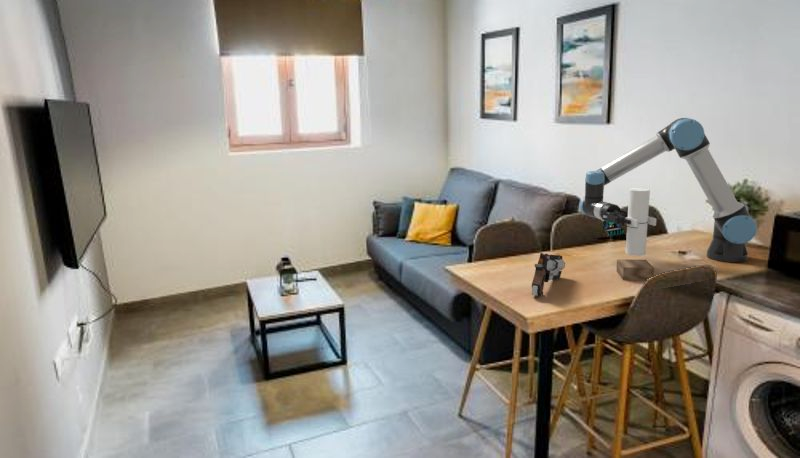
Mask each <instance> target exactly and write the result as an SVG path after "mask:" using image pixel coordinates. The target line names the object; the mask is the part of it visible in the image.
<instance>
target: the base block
mask: <svg viewBox="0 0 800 458" xmlns="http://www.w3.org/2000/svg"><path fill="white" fill-rule="evenodd" d="M615 272H617V274H618V275H619V277H620V278H621V279H622V280H623V281H648V280H647V279H649V278H651V277H653V276H654V274H655V267H654V266H653V265H652V264H651V263H650V262H649V261H648V260H647V259H627V258H626V259H625V258H624V259H618V258H617V259H616V271H615Z"/></svg>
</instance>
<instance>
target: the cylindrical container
mask: <svg viewBox="0 0 800 458" xmlns="http://www.w3.org/2000/svg"><path fill="white" fill-rule="evenodd" d="M650 193H651V190H650V189H649V188H644V187H631V188H629V191H628V204H627V211H628V217H629V218H632V219H636V220H639V226H638V228H636V227H633V226H630V225H626V234H625V235H626V236H625V237H626V240H625V250H624V251H625V252H624V253H625V254H627V255H629V256H634V257H636V256H637V257H641V256H645V255H646V254H647V253H646V251H647V250H646V249H647V238H648V237H647V236H648V225H649V224H648V215H649V208H650Z"/></svg>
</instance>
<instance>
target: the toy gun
mask: <svg viewBox="0 0 800 458" xmlns="http://www.w3.org/2000/svg"><path fill="white" fill-rule="evenodd" d="M534 267H535V270H534V276H533V279H532V282H531V290H532V291H531V295H532V296H537V297H539V296H544V287H545V283H548V282H549V281H550V280H551V281H552V280H560V279H561V276H562V272H563V270H564V269H565V268H566V262H565V260H563V255H560V254H548V253H542V252H540V253H539V258H538V262H537V263H534Z"/></svg>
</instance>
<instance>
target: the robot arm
mask: <svg viewBox="0 0 800 458" xmlns="http://www.w3.org/2000/svg"><path fill="white" fill-rule="evenodd" d="M710 144H711V143H710V140H709V139H708V137H707V136H706V134H705V129H704V127H703V125H702V123H700V122H699V121H697V120H696V119H693V118H689V117H681V118H678V119H675V120H673V121H672V122H671V123H670V124H668V125H667V126H665V127H664V128H662V129H661V130H659V131H658V132H656V135H655V136H653V137H652V138H650V139H648V140H646V141H645V142H643V143H642V144H640V145H637V147H635V148H633V149H631V150H630V151H628V152H626V153H624V154H623V155H621V156H619V157H617V158H615V159H614V160H612V161H611V162H608V163H607V164H606V165H604V166H601V168H599V169H597V170H590V171H587V172H586V174H585V184H584V186H585V189H584V198H583V199H582V200H581V201H580V203H579V211H580V212H581V213H582V214H583V215H586V216H587V217H591V218H595V219H599V220H601V222H602V221H607V222H611V223H616V224H619V223H620V226H621V227H624V226H627V225H630V226H633V227H636V228H638V226H639V220H636V219H632V218H629V217H628V210H624V209H621V208H620V206H619V205H618V204H614V203H610V202H607V201H604V192H605V190H604V189H605V186H607V185H608V184H610V183H612V181H615V180H617V179H618V178H620V177H622V176H624V175H625V174H627V173H629V172H631V171H633V170H635V169H637V168H638V167H640V166H641V165H643V164H645V163H647V162H648V161H651V160H653V159H655V158H656V157H658V156H659V155H661V154H663V153H665V152H668V153H670V152H671V151H674V150H675V152H676V153H677V155H678V157H679V159H684V160H685V161H686V162H687V164H688V166H689V168H690V170H691V171H692V173H693V175H694V177H695V178H696V180H697V182H698V183H699V186H700V187H701V189H702V191H703V193H704V195H705V196H706V198H707V200H708V202H709V204H710V206H711V207H712V209H713V210H714V213H713V214H712V218H713V220H714V222H713V223H714V224H713V234H712V240H711V242H710V244H709V245H708V248H707V251H706V257H707V258H709V259H710V260H714V261H718V262H723V263H724V262H727V263H743V262H747V261H748V260H749V252H748V249H747V245H746V243H748V242H750V241H751V240H752V239H753V238H754V237H755V236H756V234H757V232H758V226H757V223H756V221H755V219H753V217H752V216H751V215H750V213H749V207H748V205H746V204H744V203H743V202H741V201H740V202H739V201H737V199H736V197H735V195H734V193H733V191H732V190H731V188H730V186H729V183H728V182H727V180H726V178H725V177H724V175H723V174H722V172H721V170H720V168H719V165H718V164H717V163H716V160H715V159H714V157H713V154H711V152H710V150H709V147H710ZM648 225H650V226H653V227H655V226H657V218H656V217H653V216H650V215H649V214H648Z"/></svg>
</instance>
